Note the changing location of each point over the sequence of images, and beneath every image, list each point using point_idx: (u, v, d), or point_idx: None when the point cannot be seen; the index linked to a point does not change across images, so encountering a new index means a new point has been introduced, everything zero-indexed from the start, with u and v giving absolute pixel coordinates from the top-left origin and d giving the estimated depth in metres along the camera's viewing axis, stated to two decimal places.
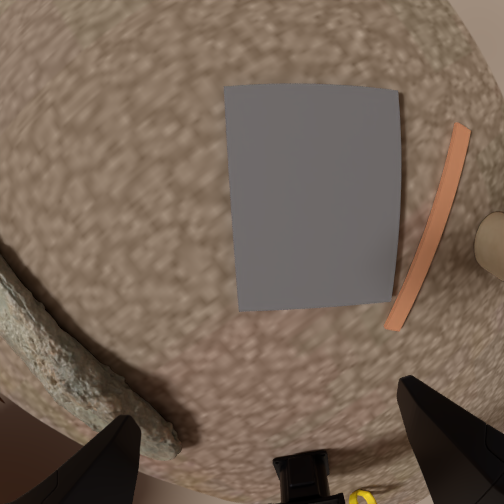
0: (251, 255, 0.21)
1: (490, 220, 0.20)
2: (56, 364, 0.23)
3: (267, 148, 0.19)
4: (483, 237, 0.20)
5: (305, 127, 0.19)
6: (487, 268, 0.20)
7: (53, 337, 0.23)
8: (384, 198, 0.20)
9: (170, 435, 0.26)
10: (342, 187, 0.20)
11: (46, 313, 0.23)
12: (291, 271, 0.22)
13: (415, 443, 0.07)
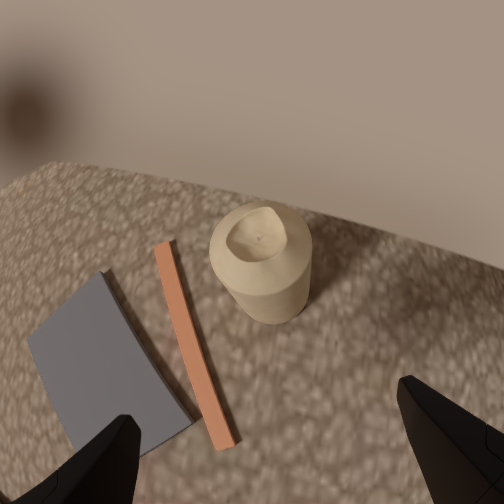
0: (76, 435, 0.20)
1: None
2: None
3: (53, 362, 0.23)
4: None
5: (63, 337, 0.24)
6: (267, 320, 0.21)
7: None
8: (124, 348, 0.23)
9: None
10: (96, 360, 0.23)
11: None
12: None
13: (415, 443, 0.07)
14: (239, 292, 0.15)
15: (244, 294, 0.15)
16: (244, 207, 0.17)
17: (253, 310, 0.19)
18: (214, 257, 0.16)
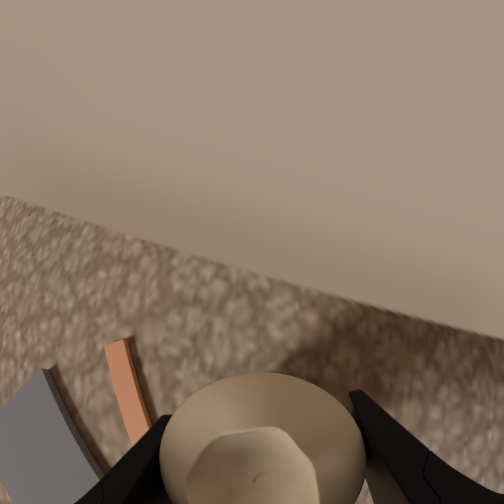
0: None
1: None
2: None
3: (8, 466, 0.13)
4: None
5: (14, 441, 0.14)
6: None
7: None
8: (81, 477, 0.13)
9: None
10: (52, 480, 0.13)
11: None
12: None
13: None
14: None
15: None
16: (223, 399, 0.07)
17: None
18: (168, 488, 0.06)
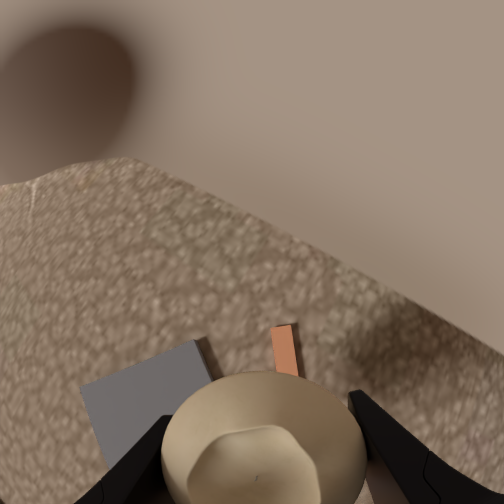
0: None
1: None
2: None
3: (116, 426, 0.20)
4: None
5: (134, 404, 0.21)
6: None
7: None
8: None
9: None
10: None
11: None
12: None
13: None
14: None
15: None
16: (225, 398, 0.07)
17: None
18: (170, 486, 0.06)
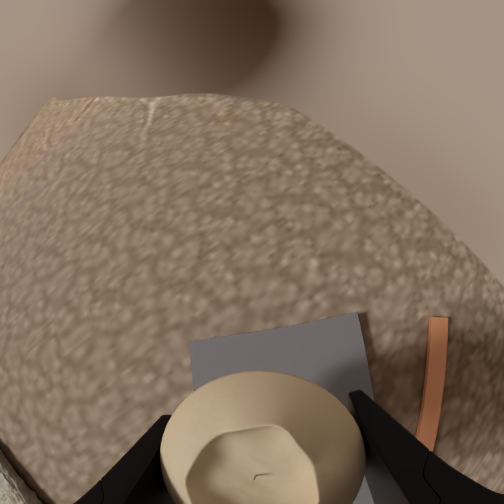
0: None
1: None
2: None
3: None
4: None
5: None
6: None
7: None
8: None
9: None
10: None
11: (36, 499, 0.16)
12: None
13: None
14: None
15: None
16: (224, 397, 0.07)
17: None
18: (169, 486, 0.06)
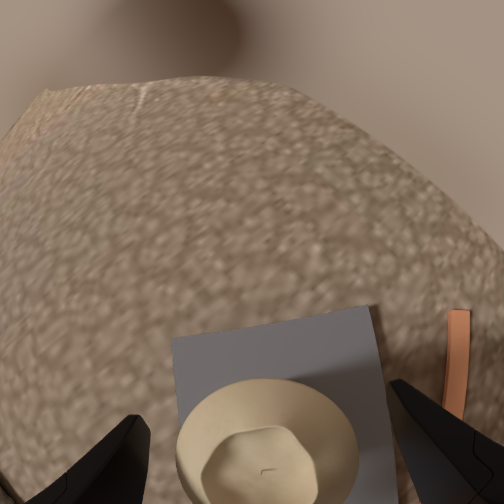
0: None
1: None
2: None
3: None
4: None
5: (260, 377, 0.16)
6: None
7: None
8: (370, 438, 0.14)
9: None
10: None
11: None
12: None
13: (404, 447, 0.07)
14: None
15: None
16: (234, 402, 0.08)
17: None
18: (184, 481, 0.07)
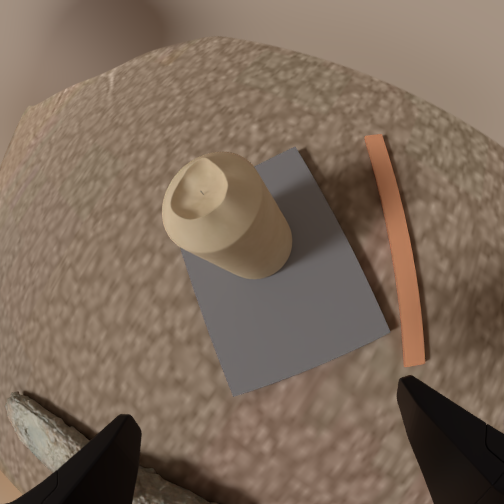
0: (225, 337, 0.22)
1: None
2: None
3: None
4: None
5: None
6: (254, 275, 0.21)
7: (79, 444, 0.22)
8: (324, 235, 0.22)
9: None
10: None
11: (74, 429, 0.24)
12: (266, 340, 0.21)
13: (415, 443, 0.07)
14: (199, 253, 0.15)
15: (204, 253, 0.15)
16: (184, 167, 0.15)
17: (230, 268, 0.18)
18: (167, 225, 0.15)
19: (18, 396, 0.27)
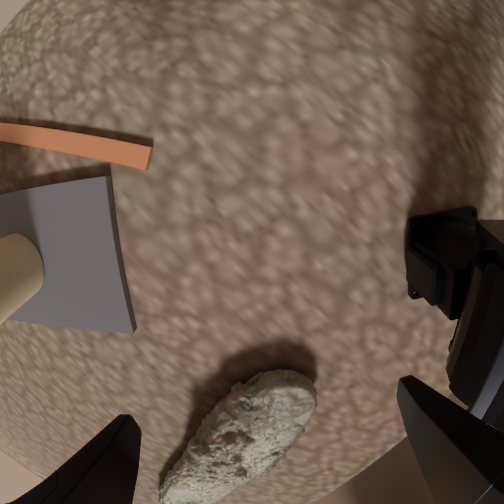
0: (83, 317, 0.22)
1: None
2: (198, 472, 0.26)
3: None
4: None
5: None
6: (33, 280, 0.19)
7: (181, 467, 0.27)
8: (24, 206, 0.19)
9: (235, 395, 0.22)
10: None
11: (174, 464, 0.29)
12: (88, 287, 0.21)
13: (415, 443, 0.07)
14: None
15: None
16: None
17: (12, 304, 0.16)
18: None
19: (160, 496, 0.31)
